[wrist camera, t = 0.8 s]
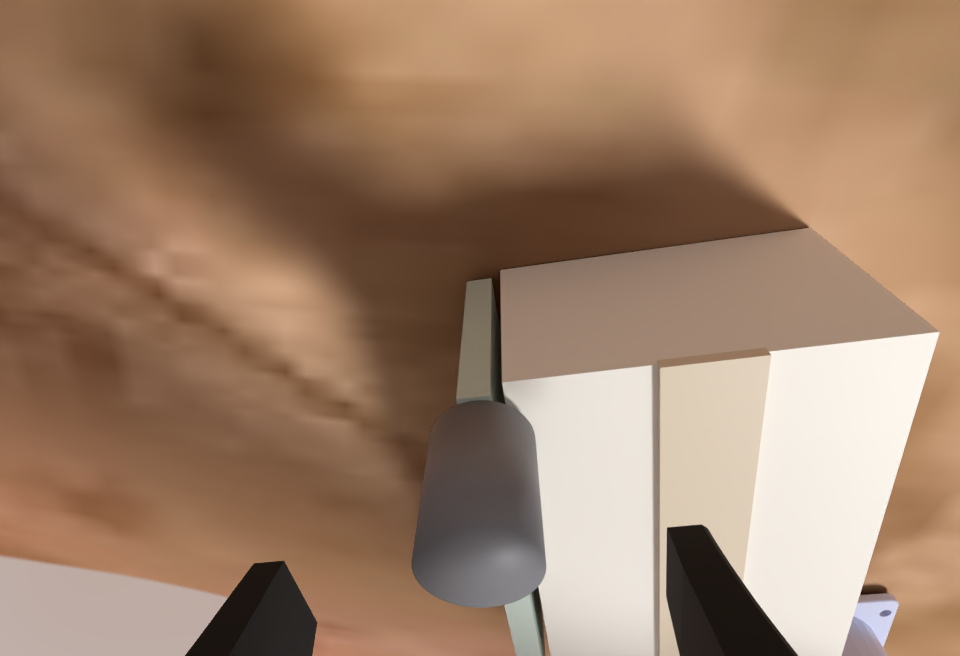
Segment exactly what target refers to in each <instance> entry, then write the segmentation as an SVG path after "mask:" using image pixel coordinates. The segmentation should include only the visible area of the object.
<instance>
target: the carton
mask: <svg viewBox="0 0 960 656" xmlns="http://www.w3.org/2000/svg"><path fill="white" fill-rule="evenodd" d="M500 288H501V353H502V386H503V391H504V397H505V402H506V405H508V406H510V407H512V408H514V409H516V410H517V411H519V412H520V413H521V414H523V415H524V416H525V417H526V418H527V420H528V421H529V422H530V424H531V425H532V427H533V430H534V433H535V439H536V450H537V462H538V474H539V486H540V497H541V509H542V521H543V532H544V544H545V556H546V573H545V576H544V579H543V580H542V582H541V584H540V585H539V586H538V587H539V593H540V599H541V604H542V610H543V615H544V621H545V627H546V632H547V638H548V643H549V649H550V655H551V656H680V654H679V650H678V646H677V642H676V638H675V633H674V629H673V625H672V620H671V616H670V611H669V607H668V603H667V598H666V557H667V527H678V526H689V525H701V524H702V525H704V526H705V527H707V528H708V529H709V531H710V533H711V534H712V536H713V538H714V539H715V541H716V543H717V544H718V546H719V547H720V549H721V550H722V552H723V554H724V555H725V557H726V558H727V560H728V561H729V563H730V564H731V566H732V567H733V569H734V570H735V571H736V573H737V574H738V576H739V577H740V579H741V580H742V582H743V583H744V584H745V586H746V587H747V589H748V590H749V591H750V593H751V594H752V596H753V597H754V598H755V600H756V601H757V603H758V604H759V605H760V607H761V608H762V609H763V611H764V612H765V613H766V615H767V616H768V617H769V619H770V620H771V621H772V623H773V624H774V625H775V626H776V628H777V629H778V630H779V632H780V633H781V634H782V635H783V637H784V638H785V639H786V641H787V642H788V643H789V644H790V646H791V647H792V648H793V650H794V651H795V652H796V653H797V655H798V656H842V652H843V649H844V646H845V642H846V639H847V636H848V633H849V629H850V626H851V623H852V619H853V616H854V613H855V609H856V606H857V603H858V600H859V596H860V593H861V590H862V586H863V583H864V580H865V576H866V573H867V570H868V567H869V563H870V560H871V557H872V553H873V550H874V547H875V543H876V540H877V537H878V534H879V530H880V527H881V524H882V520H883V517H884V514H885V510H886V507H887V504H888V501H889V497H890V494H891V491H892V487H893V484H894V481H895V477H896V474H897V471H898V468H899V464H900V461H901V458H902V454H903V451H904V448H905V444H906V441H907V438H908V434H909V431H910V428H911V425H912V421H913V418H914V415H915V411H916V408H917V405H918V401H919V398H920V395H921V392H922V388H923V385H924V382H925V378H926V375H927V372H928V368H929V365H930V362H931V359H932V355H933V352H934V349H935V345H936V342H937V339H938V335H939V331H938V330H937V329H935V328H934V327H933V326H932V325H930V324H929V323H928V322H927V321H926V320H924V319H923V318H922V317H921V316H919V315H918V314H917V313H916V312H914V311H913V310H912V309H911V308H909V307H908V306H907V305H906V304H905V303H903V302H902V301H901V300H900V299H898V298H897V297H896V296H895V295H893V294H892V293H891V292H890V291H888V290H887V289H886V288H885V287H883V286H882V285H881V284H880V283H879V282H877V281H876V280H875V279H874V278H872V277H871V276H870V275H869V274H867V273H866V272H865V271H864V270H862V269H861V268H860V267H859V266H858V265H856V264H855V263H854V262H853V261H851V260H850V259H849V258H848V257H846V256H845V255H844V254H843V253H841V252H840V251H839V250H838V249H837V248H835V247H834V246H833V245H832V244H830V243H829V242H828V241H827V240H825V239H824V238H823V237H822V236H820V235H819V234H818V233H817V232H815V231H814V230H813V229H812V228H804V229H796V230H789V231H782V232H774V233H767V234H760V235H753V236H745V237H738V238H731V239H723V240H716V241H709V242H701V243H694V244H687V245H679V246H672V247H665V248H657V249H650V250H643V251H636V252H628V253H621V254H614V255H606V256H599V257H592V258H584V259H577V260H570V261H562V262H555V263H548V264H540V265H533V266H526V267H518V268H511V269H504V270H500Z"/></svg>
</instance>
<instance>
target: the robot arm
mask: <svg viewBox="0 0 960 656" xmlns="http://www.w3.org/2000/svg"><path fill="white" fill-rule="evenodd" d="M666 598H667V603H668V607H669V611H670V616H671V620H672V625H673V629H674V633H675V638H676V642H677V646H678V650H679V654H680V656H798V655H797V653H796V652H795V651H794V650H793V648H792V647H791V646H790V644H789V643H788V642H787V641H786V639H785V638H784V637H783V635H782V634H781V633H780V632H779V630H778V629H777V628H776V626H775V625H774V624H773V623H772V621H771V620H770V619H769V617H768V616H767V615H766V613H765V612H764V611H763V609H762V608H761V607H760V605H759V604H758V603H757V601H756V600H755V598H754V597H753V596H752V594H751V593H750V591H749V590H748V589H747V587H746V586H745V584H744V583H743V582H742V580H741V579H740V577H739V576H738V574H737V573H736V571H735V570H734V569H733V567H732V566H731V564H730V563H729V561H728V560H727V558H726V557H725V555H724V554H723V552H722V550H721V549H720V547H719V546H718V544H717V543H716V541H715V539H714V538H713V536H712V534H711V533H710V531H709V529H708V528H707V527H705V526H704V525H702V524H701V525H689V526H678V527H667V557H666ZM898 606H899V603H898V601H897V600H896V598H895V597H894V596H893V595H892V594H889V593H882V594H868V595H860V596H859V600H858V603H857V606H856V609H855V613H854V616H853V619H852V623H851V626H850V629H849V633H848V636H847V639H846V642H845V646H844V649H843V652H842V656H888V655H887V654H886V652H885V650H884V648H883V646H884V644H885V641H886V638H887V636H888V633H889V630H890V627H891V625H892V622H893V619H894V616H895V614H896V611H897V608H898ZM316 626H317V621H316V619H315V618H314V616H313V614H312V612H311V610H310V608H309V606H308V605H307V603H306V601H305V599H304V597H303V595H302V593H301V592H300V590H299V588H298V586H297V584H296V582H295V580H294V579H293V577H292V575H291V573H290V571H289V569H288V567H287V565H286V564H285V562H284V561H277V562H265V563H254V564H253V566H252V567H251V568H250V569H249V571H248V572H247V573H246V575H245V576H244V577H243V579H242V580H241V581H240V583H239V584H238V585H237V587H236V588H235V589H234V591H233V592H232V593H231V595H230V596H229V597H228V599H227V600H226V602H225V603H224V604H223V606H222V607H221V608H220V610H219V611H218V612H217V614H216V615H215V616H214V618H213V619H212V620H211V622H210V623H209V625H208V626H207V627H206V629H205V630H204V631H203V633H202V634H201V635H200V637H199V638H198V639H197V641H196V642H195V643H194V645H193V646H192V647H191V649H190V650H189V651H188V652H187V654H186V655H185V656H312V653H313V646H314V640H315V633H316Z"/></svg>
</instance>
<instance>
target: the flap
mask: <svg viewBox="0 0 960 656" xmlns="http://www.w3.org/2000/svg"><path fill="white" fill-rule="evenodd" d="M456 402H457V405H455V406H453V407H451V408H449V409H448V410H446V411H445V412H444V413H442V414H441V415H440V416H439V417H438V418H437V420H436V421H435V422H434V424H433V426H432V429H431V431H430V437H429V444H428V451H427V458H426V465H425V472H424V479H423V486H422V493H421V500H420V507H419V514H418V521H417V528H416V535H415V542H414V549H413V556H412V570H413V574H414V576H415V578H416V579H417V581H418V582H419V584H420V585H421V586H422V587H423V588H424V589H425V590H427V591H428V592H429V593H431V594H432V595H434V596H435V597H437V598H439V599H441V600H444V601H446V602H449V603H452V604H456V605H461V606H466V607H478V608H484V607H496V606H502V605H505V610H506V614H507V618H508V622H509V627H510V631H511V635H512V639H513V644H514V648H515V652H516V656H545V643H544V629H543V616H542V604H541V599H540V593H539V587H538V586H539V585H540V584H541V582H542V580H543V579H544V576H545V573H546V556H545V544H544V532H543V521H542V509H541V497H540V486H539V474H538V462H537V450H536V439H535V433H534V430H533V427H532V425H531V424H530V422H529V421H528V420H527V418H526V417H525V416H524V415H523V414H521V413H520V412H519V411H517V410H516V409H514V408H512V407H510V406H508V405H506V402H505V397H504V391H503V386H502V353H501V331H500V325H499V319H498V314H497V308H496V302H495V296H494V290H493V284H492V278H489V279H482V280H474V281H467V286H466V297H465V308H464V318H463V329H462V340H461V351H460V361H459V372H458V383H457V394H456Z"/></svg>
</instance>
